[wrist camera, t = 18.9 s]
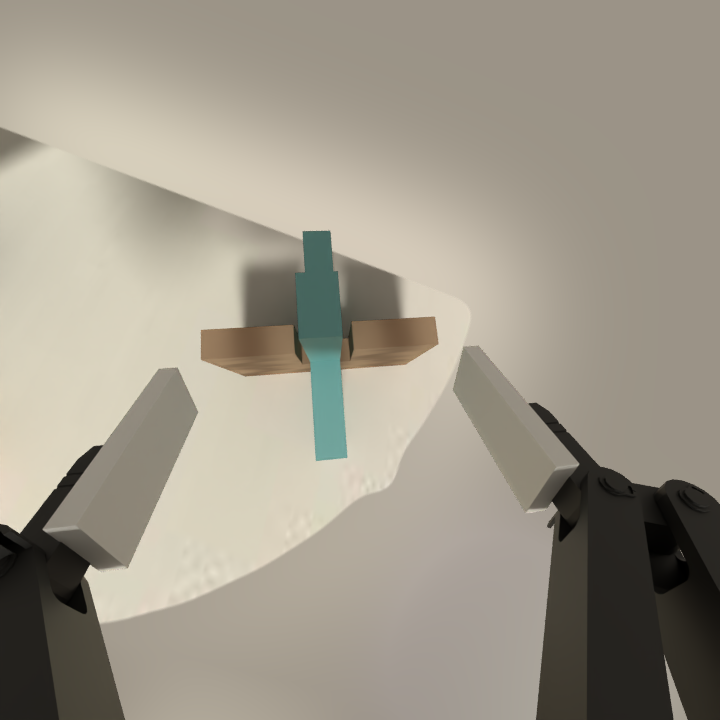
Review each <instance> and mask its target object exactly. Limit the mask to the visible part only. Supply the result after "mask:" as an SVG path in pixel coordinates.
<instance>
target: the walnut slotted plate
mask: <svg viewBox="0 0 720 720" xmlns="http://www.w3.org/2000/svg"><path fill="white" fill-rule="evenodd" d="M437 344H438V336H437V329H436V321H435V317H421V318H404V319H386V320H368V321H352V322H351V327H350V332H349V337H348V338H343V339H342V347H341V356H340V367H341V369H352V368H365V367H379V366H393V365H405V364H407V363H409V362H410V361H412V360H413V359H415V358H417V357H418V356H420V355H421V354H423V353H425V352H426V351H428V350H429V349H431V348H433V347H434V346H436V345H437ZM201 360H203V361H206V362H208V363H211V364H214V365H216V366H219V367H222V368H225V369H227V370H230V371H233V372H235V373H238V374H241V375H243V376H257V375H270V374H284V373H298V372H311V367H310V360H309V358H308V356H307V354H306V352H305V350H304V349H303V347H302V345H301V343H300V341H299V336H298V333H297V331H296V329H295V327H294V325H281V326H263V327H245V328H228V329H210V330H201Z"/></svg>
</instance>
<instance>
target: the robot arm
mask: <svg viewBox="0 0 720 720" xmlns="http://www.w3.org/2000/svg"><path fill="white" fill-rule="evenodd" d="M453 391H454V392H455V394H456V396H457V398H458V399H459V401H460V403H461V404H462V406H463V408H464V409H465V411H466V413H467V415H468V416H469V418H470V419H471V421H472V423H473V424H474V427H475V428H476V430H477V431H478V433H479V435H480V436H481V438H482V440H483V442H484V444H485V445H486V447H487V449H488V450H489V452H490V454H491V455H492V457H493V459H494V460H495V462H496V464H497V466H498V467H499V469H500V471H501V472H502V474H503V476H504V478H505V479H506V481H507V483H508V484H509V486H510V488H511V489H512V491H513V493H514V495H515V496H516V498H517V500H518V501H519V503H520V505H521V507H522V508H523V510H524V512H525V513H530V512H538V511H544V510H546V509H547V508H548V506H549V505H550V503H551V502H553V503H554V505H555V506H556V507H557V509H558V511H557V512H556V514H555V515H554V516H553V517H552V519H551V520H550V521H549V523H548V525H547V527H548V528H551V527H552V526H553V524H554V523H555V524H554V535H553V547H552V556H551V567H550V578H549V588H548V599H547V609H546V620H545V632H544V641H543V652H542V663H541V673H540V684H539V694H538V705H537V716H536V720H673V713H672V706H671V699H670V693H669V686H668V680H667V673H666V666H665V659H664V655H665V658H666V661H667V664H668V667H669V669H670V672H671V675H672V677H673V680H674V683H675V686H676V689H677V691H678V694H679V697H680V700H681V702H682V705H683V708H684V710H685V713H686V716H687V719H688V720H720V504H719V503H718V502H717V501H716V500H715V499H714V498H713V497H712V496H710V495H709V494H708V493H707V492H705V491H704V490H702V489H700V488H699V487H697V486H695V485H693V484H690V483H688V482H685V481H682V480H669V481H666V482H665V483H664V484H663V485H662V486H661V487H660V488H656V487H651V486H645V485H640V484H634V483H631V482H630V481H629V480H628V479H627V478H625V477H624V476H623V475H621V474H620V473H618V472H615V471H614V470H611V469H608V468H604V467H600V466H599V465H598V464H597V463H596V462H595V461H594V460H593V459H592V458H591V457H590V456H589V454H588V453H587V452H586V451H585V450H584V449H583V448H582V447H581V446H580V445H579V443H578V442H577V441H576V440H575V439H574V438H573V437H572V436H571V435H570V434H569V433H568V432H566V429H565V428H564V427H563V426H562V425H561V424H559V422H558V420H557V419H556V418H555V417H554V416H553V415H552V414H551V413H550V412H549V411H548V410H546V409H545V408H543V407H542V406H540V405H539V404H537V403H529V404H528V403H527V402H526V401H525V399H523V397H522V396H521V395H520V394H519V392H518V391H517V390H516V389H515V388H514V387H513V385H512V384H511V383H510V382H509V381H508V380H507V379H506V377H505V376H504V375H503V374H502V373H501V372H500V370H499V369H498V368H497V367H496V366H495V365H494V363H493V362H492V361H491V360H490V359H489V357H488V356H487V355H486V354H485V353H484V352H483V350H482V349H481V348H480V347H479V346H470V347H463V351H462V355H461V359H460V363H459V367H458V372H457V375H456V379H455V383H454V387H453ZM197 414H198V411H197V409H196V407H195V404H194V402H193V400H192V398H191V396H190V394H189V391H188V389H187V387H186V385H185V383H184V381H183V378H182V376H181V374H180V372H179V370H178V368H165V369H159V370H158V371H157V372H156V374H155V375H154V376H153V378H152V379H151V381H150V382H149V383H148V385H147V386H146V387H145V389H144V390H143V392H142V393H141V394H140V396H139V397H138V398H137V400H136V401H135V403H134V404H133V405H132V407H131V408H130V409H129V411H128V412H127V414H126V415H125V416H124V418H123V419H122V420H121V422H120V423H119V425H118V426H117V427H116V429H115V430H114V431H113V433H112V434H111V436H110V437H109V438H108V440H107V441H106V443H105V444H104V445H101V446H94V447H92V448H91V449H90V450H89V451H87V452H86V453H85V454H84V455H82V456H81V457H80V458H79V459H78V460H77V461H76V462H75V464H74V465H73V466H72V467H71V469H70V470H69V471H68V473H67V476H66V477H64V478H63V479H62V480H61V482H60V483H59V484H58V485H57V489H54V491H53V492H52V493H51V494H50V496H49V497H48V498H47V500H46V501H45V502H44V503H43V505H42V506H41V507H40V509H39V510H38V511H37V512H36V514H35V515H34V516H33V518H32V519H31V520H30V521H29V523H28V524H27V525H26V527H25V528H24V529H23V530H22V532H21V533H20V534H19V533H18V532H16V531H15V530H13V529H12V528H10V527H9V526H7V525H3V524H0V720H125V718H124V714H123V711H122V707H121V703H120V700H119V696H118V692H117V688H116V684H115V681H114V677H113V673H112V670H111V666H110V662H109V659H108V655H107V651H106V647H105V643H104V640H103V636H102V633H101V628H100V625H99V621H98V617H97V614H96V610H95V606H94V602H93V599H92V595H91V591H90V587H89V584H88V581H87V580H86V579H85V577H83V576H84V574H85V573H86V571H87V569H88V567H89V565H92V566H93V567H94V568H96V569H97V570H98V571H100V572H104V571H111V570H119V569H126V568H128V566H129V564H130V562H131V559H132V557H133V555H134V553H135V551H136V548H137V546H138V544H139V542H140V540H141V537H142V535H143V533H144V531H145V529H146V526H147V524H148V522H149V520H150V517H151V515H152V513H153V511H154V509H155V506H156V504H157V502H158V500H159V498H160V495H161V493H162V491H163V489H164V487H165V484H166V482H167V480H168V478H169V475H170V473H171V471H172V469H173V467H174V464H175V462H176V460H177V458H178V456H179V453H180V451H181V449H182V447H183V445H184V442H185V440H186V438H187V436H188V433H189V431H190V429H191V427H192V425H193V422H194V420H195V418H196V416H197ZM680 550H681V551H680ZM681 552H682V553H681ZM682 554H683V555H682ZM683 556H684V557H683Z"/></svg>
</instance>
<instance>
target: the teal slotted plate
mask: <svg viewBox="0 0 720 720" xmlns="http://www.w3.org/2000/svg"><path fill="white" fill-rule="evenodd" d="M303 246H304V263H305V273H295V278H296V297H297V316H298V335H299V341H300V343H301V345H302V347H303V349H304V350H305V352H306V354H307V356H308V358H309V360H310V367H311V384H312V401H313V419H314V436H315V453H316V461H320V460H330V459H340V458H347V447H346V433H345V420H344V407H343V393H342V380H341V367H340V356H341V347H342V339H343V332H342V319H341V306H340V294H339V281H338V271H333V260H332V248H331V233H330V231H303Z"/></svg>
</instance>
